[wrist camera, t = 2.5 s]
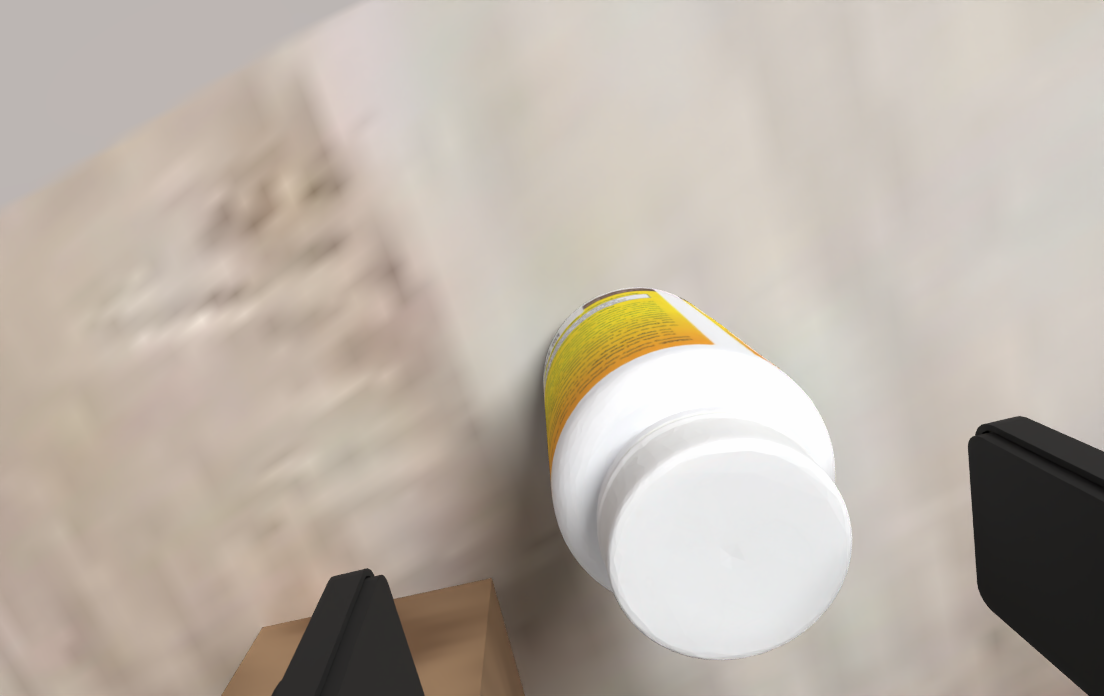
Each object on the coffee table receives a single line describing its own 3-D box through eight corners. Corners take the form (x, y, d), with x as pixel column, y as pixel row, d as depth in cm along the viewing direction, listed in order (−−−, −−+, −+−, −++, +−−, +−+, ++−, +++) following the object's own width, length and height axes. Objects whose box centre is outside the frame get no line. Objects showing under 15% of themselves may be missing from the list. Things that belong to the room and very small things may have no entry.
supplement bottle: (516, 420, 20) (501, 644, 10) (584, 255, 19) (641, 332, 9) (675, 479, 21) (805, 743, 11) (752, 323, 20) (973, 464, 10)
